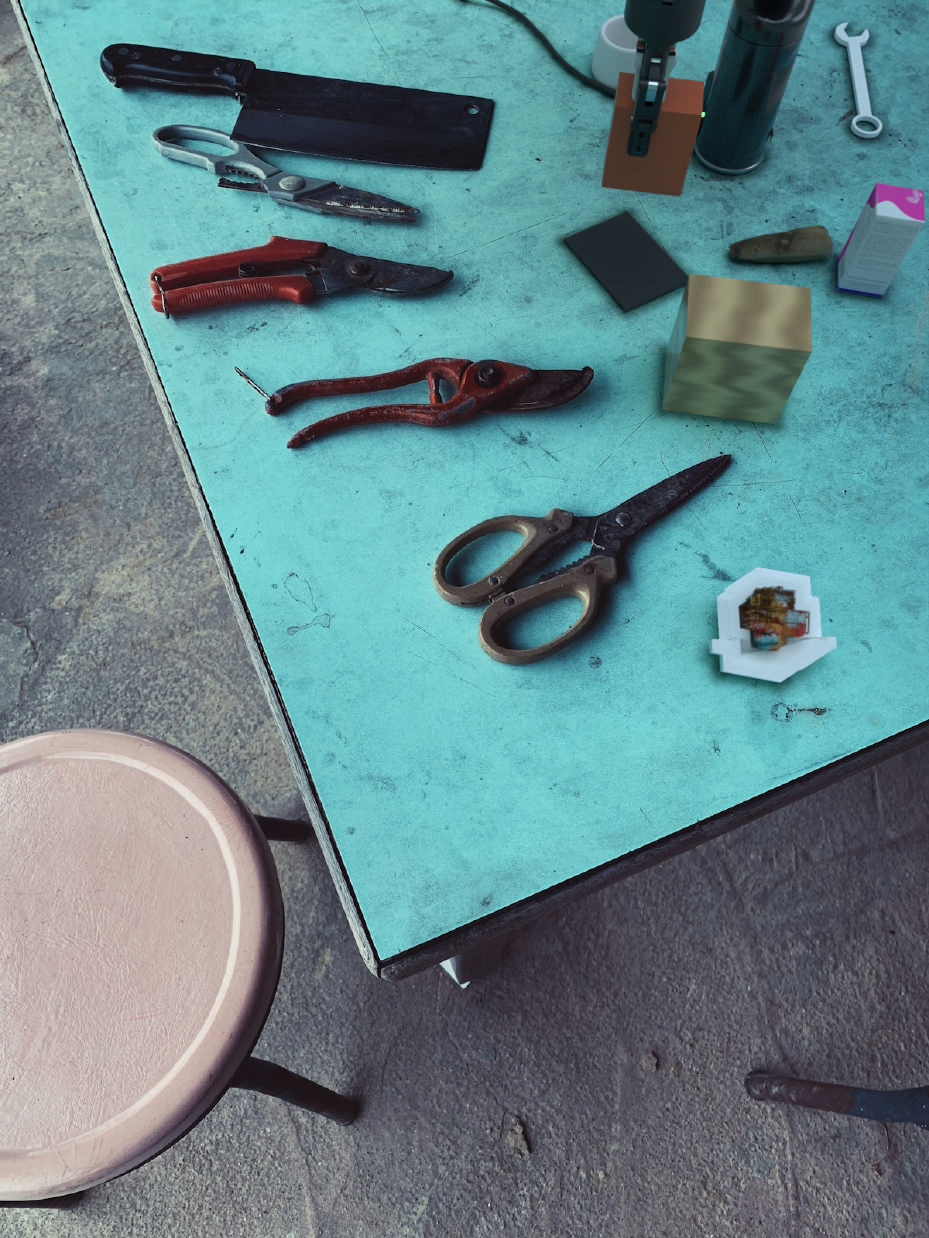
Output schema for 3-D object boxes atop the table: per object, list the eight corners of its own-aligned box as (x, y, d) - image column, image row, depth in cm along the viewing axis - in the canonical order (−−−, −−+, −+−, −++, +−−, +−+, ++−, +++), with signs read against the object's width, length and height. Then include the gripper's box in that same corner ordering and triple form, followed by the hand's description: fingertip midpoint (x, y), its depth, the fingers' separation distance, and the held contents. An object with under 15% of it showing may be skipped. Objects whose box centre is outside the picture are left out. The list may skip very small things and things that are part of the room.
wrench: (865, 28, 139) (832, 26, 139) (867, 23, 138) (834, 21, 138) (884, 139, 128) (849, 137, 128) (886, 135, 127) (851, 132, 127)
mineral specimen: (818, 570, 95) (842, 557, 88) (826, 683, 94) (850, 678, 87) (700, 573, 96) (714, 560, 89) (706, 685, 95) (720, 681, 88)
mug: (586, 91, 132) (592, 49, 126) (594, 49, 136) (600, 7, 130) (670, 102, 131) (679, 60, 125) (676, 60, 135) (685, 18, 130)
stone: (820, 235, 120) (826, 220, 118) (833, 262, 117) (840, 248, 115) (723, 248, 118) (727, 233, 116) (735, 276, 116) (740, 262, 114)
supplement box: (883, 299, 115) (926, 223, 105) (835, 291, 115) (873, 215, 105) (884, 265, 117) (925, 188, 107) (836, 258, 118) (873, 180, 108)
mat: (562, 241, 118) (563, 238, 118) (626, 214, 121) (627, 211, 120) (625, 313, 113) (626, 310, 113) (691, 283, 116) (691, 280, 115)
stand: (775, 364, 110) (810, 287, 99) (775, 424, 106) (812, 351, 95) (666, 351, 111) (689, 273, 100) (662, 410, 107) (685, 336, 96)
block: (704, 80, 98) (619, 70, 98) (702, 115, 95) (615, 105, 96) (681, 169, 108) (604, 160, 108) (678, 203, 105) (600, 193, 106)
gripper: (636, -76, 90) (609, 89, 105) (625, 14, 83) (598, 176, 99) (714, -68, 89) (676, 97, 104) (708, 22, 83) (669, 184, 98)
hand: (638, 134), depth 101 cm, fingers closed on block, 5 cm apart
